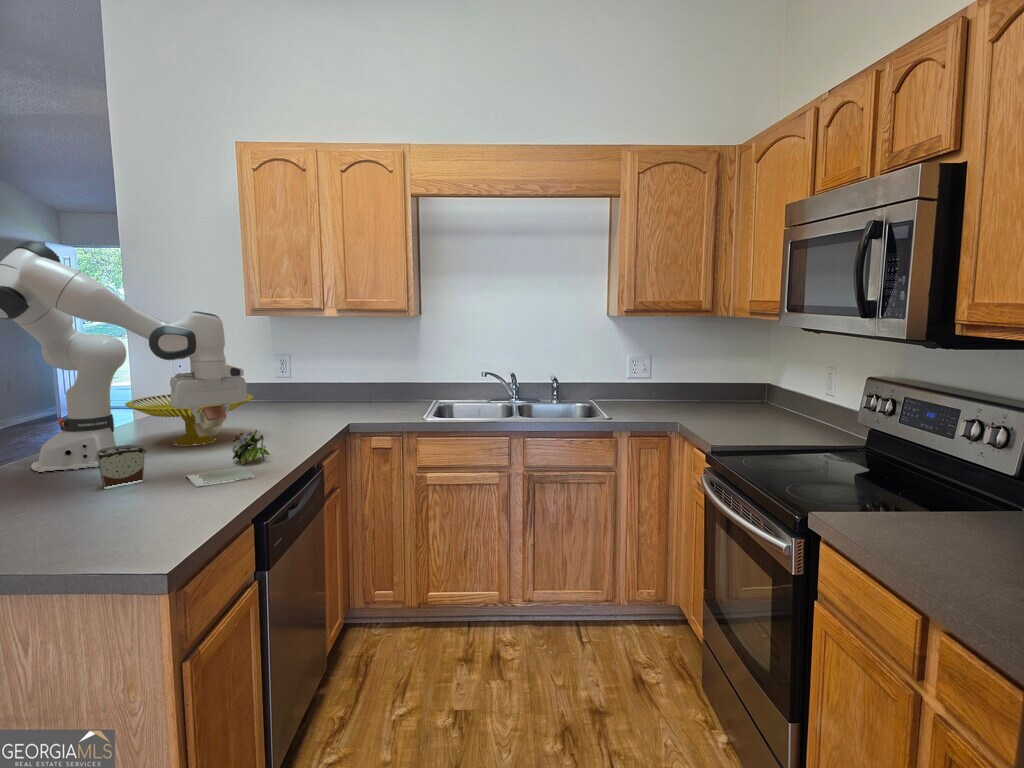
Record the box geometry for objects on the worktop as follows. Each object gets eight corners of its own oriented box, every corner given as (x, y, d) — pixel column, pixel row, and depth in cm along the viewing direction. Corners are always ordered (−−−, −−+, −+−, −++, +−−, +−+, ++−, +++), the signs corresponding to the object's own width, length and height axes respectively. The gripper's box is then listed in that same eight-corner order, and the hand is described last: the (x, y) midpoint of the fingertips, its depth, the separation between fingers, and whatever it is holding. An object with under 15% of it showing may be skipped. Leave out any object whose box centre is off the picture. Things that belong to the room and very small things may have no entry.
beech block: (199, 437, 177) (209, 418, 173) (193, 425, 179) (203, 407, 175) (216, 434, 181) (226, 416, 177) (211, 423, 183) (220, 405, 179)
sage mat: (196, 487, 171) (196, 485, 171) (185, 477, 181) (185, 475, 181) (255, 478, 180) (255, 476, 180) (241, 468, 190) (241, 466, 190)
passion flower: (240, 477, 200) (238, 442, 206) (276, 470, 202) (273, 435, 207) (226, 465, 190) (225, 428, 196) (264, 457, 192) (261, 421, 197)
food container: (140, 477, 181) (137, 442, 179) (149, 481, 177) (146, 445, 176) (90, 486, 171) (86, 450, 170) (98, 491, 167) (95, 453, 166)
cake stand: (207, 458, 203) (204, 411, 201) (98, 452, 211) (94, 406, 209) (278, 432, 242) (276, 393, 240) (183, 428, 250) (181, 390, 248)
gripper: (176, 374, 166) (178, 427, 168) (248, 369, 183) (251, 417, 184) (164, 373, 170) (167, 425, 171) (236, 368, 186) (238, 415, 188)
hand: (211, 421), depth 178 cm, fingers closed on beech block, 5 cm apart
